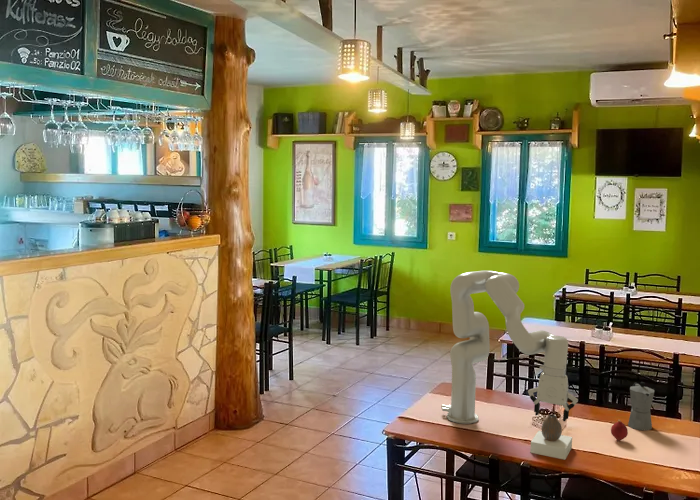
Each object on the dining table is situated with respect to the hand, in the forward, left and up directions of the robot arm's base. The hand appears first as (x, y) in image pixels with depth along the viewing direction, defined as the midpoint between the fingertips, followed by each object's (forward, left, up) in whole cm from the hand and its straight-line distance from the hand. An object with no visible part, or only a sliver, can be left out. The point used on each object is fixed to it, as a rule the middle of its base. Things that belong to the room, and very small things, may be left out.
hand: (550, 417), depth 238 cm
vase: (+1, 0, -8) cm, 8 cm away
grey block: (+1, 0, -12) cm, 12 cm away
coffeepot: (+26, +43, -12) cm, 51 cm away
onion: (+21, +22, -12) cm, 32 cm away
